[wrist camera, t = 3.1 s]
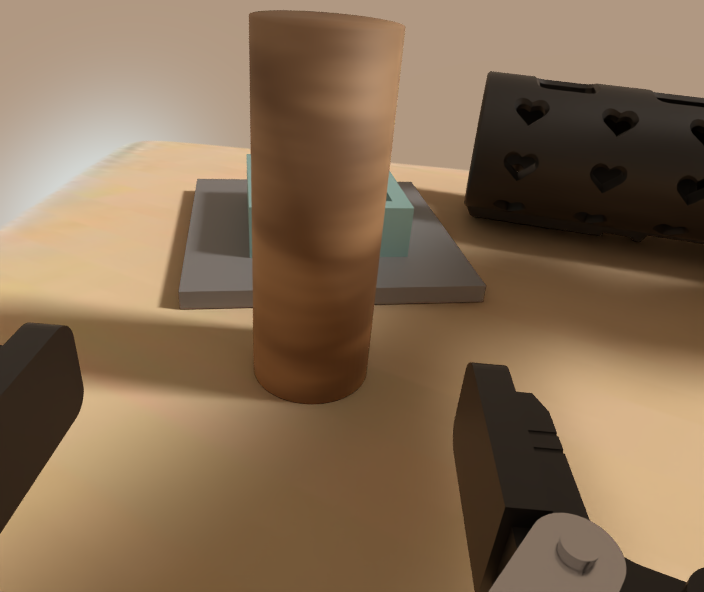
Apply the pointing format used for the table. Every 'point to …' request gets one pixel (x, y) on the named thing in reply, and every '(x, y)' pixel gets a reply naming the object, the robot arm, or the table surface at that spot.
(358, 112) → the walnut peg
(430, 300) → the socket stand
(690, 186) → the muzzle brake
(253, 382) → the table surface
